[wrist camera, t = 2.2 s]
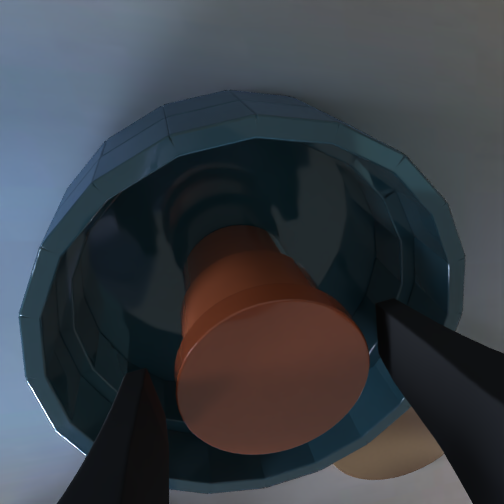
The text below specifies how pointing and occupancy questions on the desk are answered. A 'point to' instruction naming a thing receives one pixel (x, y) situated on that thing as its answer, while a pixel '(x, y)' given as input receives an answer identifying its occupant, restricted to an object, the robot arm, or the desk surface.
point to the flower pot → (262, 347)
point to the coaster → (393, 451)
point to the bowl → (202, 224)
